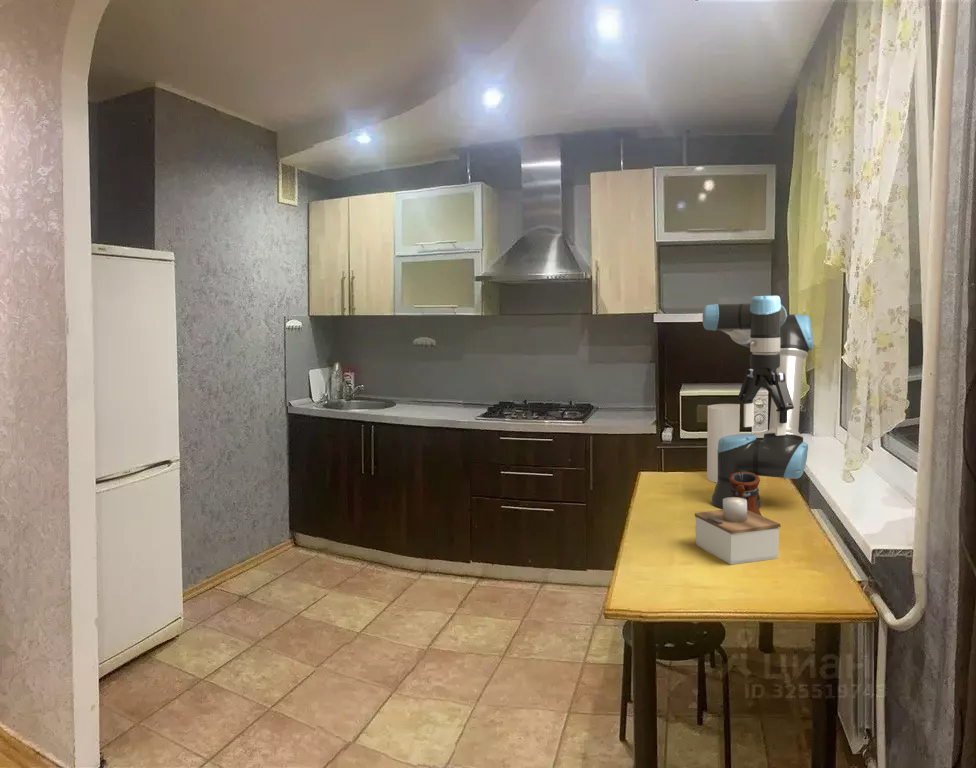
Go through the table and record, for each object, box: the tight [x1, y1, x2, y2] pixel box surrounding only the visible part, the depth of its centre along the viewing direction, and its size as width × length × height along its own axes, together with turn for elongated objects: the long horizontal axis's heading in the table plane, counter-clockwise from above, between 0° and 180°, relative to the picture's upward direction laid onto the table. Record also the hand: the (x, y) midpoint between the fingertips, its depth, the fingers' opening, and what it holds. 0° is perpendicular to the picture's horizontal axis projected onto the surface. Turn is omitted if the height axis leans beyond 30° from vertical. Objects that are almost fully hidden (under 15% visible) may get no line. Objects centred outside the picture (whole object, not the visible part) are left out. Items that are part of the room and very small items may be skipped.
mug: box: [729, 472, 763, 516], centre depth 199 cm, size 18×12×15 cm, turn 153°
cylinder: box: [706, 403, 741, 484], centre depth 255 cm, size 17×17×28 cm
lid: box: [694, 509, 781, 534], centre depth 178 cm, size 14×16×1 cm
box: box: [695, 517, 780, 566], centre depth 179 cm, size 14×16×8 cm
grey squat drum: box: [722, 497, 747, 522], centre depth 178 cm, size 6×6×5 cm
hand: (764, 430), depth 184 cm, fingers open, 13 cm apart
